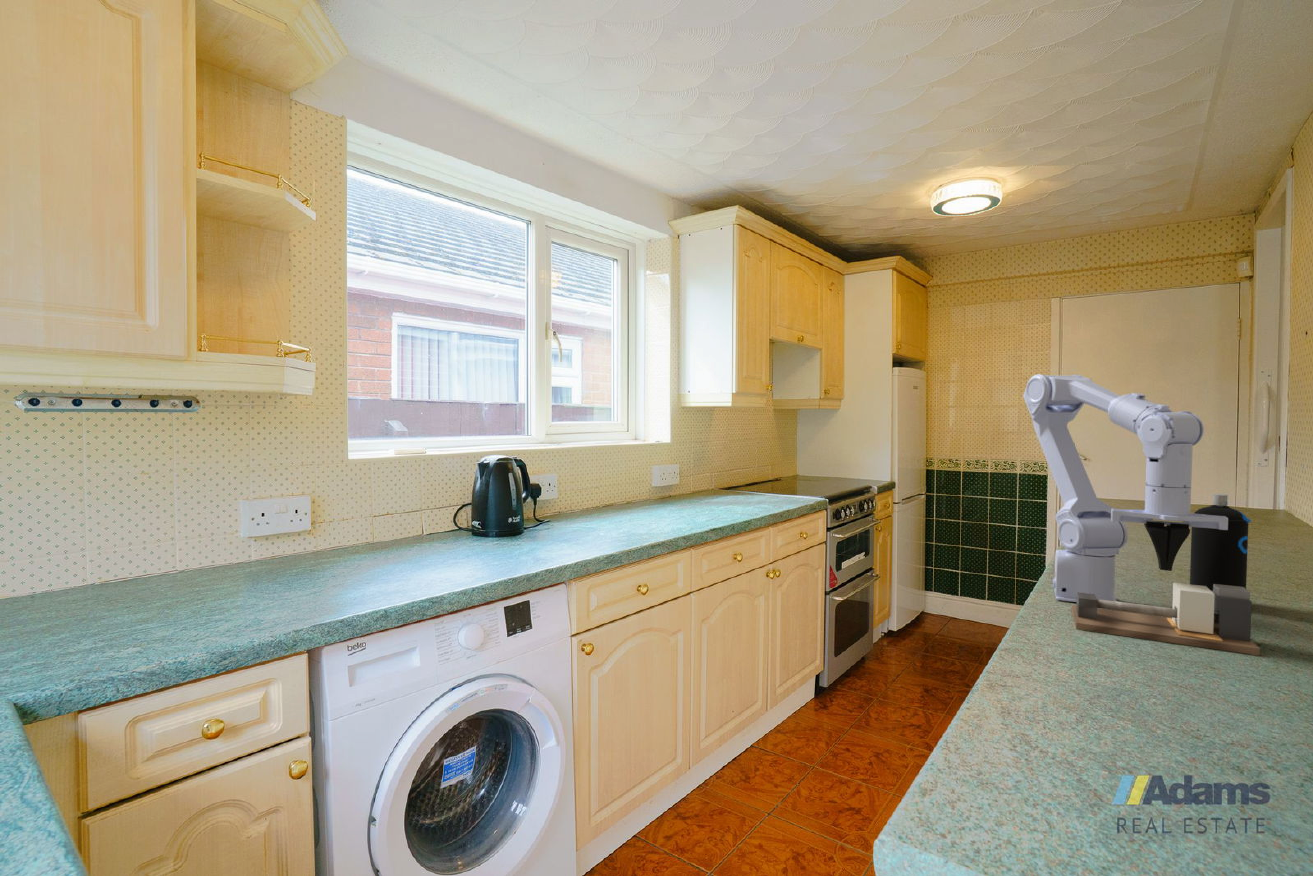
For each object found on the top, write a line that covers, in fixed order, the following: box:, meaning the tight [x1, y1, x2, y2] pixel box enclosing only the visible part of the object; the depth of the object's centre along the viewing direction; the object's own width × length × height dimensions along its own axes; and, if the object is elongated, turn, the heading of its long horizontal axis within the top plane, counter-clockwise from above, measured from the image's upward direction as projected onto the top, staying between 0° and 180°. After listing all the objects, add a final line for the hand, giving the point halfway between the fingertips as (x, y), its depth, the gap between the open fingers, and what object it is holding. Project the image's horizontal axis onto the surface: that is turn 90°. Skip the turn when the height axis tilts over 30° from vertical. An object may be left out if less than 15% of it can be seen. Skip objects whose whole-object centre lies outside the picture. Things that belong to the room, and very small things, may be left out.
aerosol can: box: [1189, 493, 1252, 590], centre depth 114 cm, size 8×8×20 cm
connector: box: [1211, 584, 1253, 642], centre depth 94 cm, size 4×5×7 cm
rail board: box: [1070, 592, 1261, 656], centre depth 99 cm, size 22×11×4 cm, turn 60°
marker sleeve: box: [1171, 582, 1214, 634], centre depth 96 cm, size 4×5×6 cm
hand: (1165, 569), depth 101 cm, fingers closed
